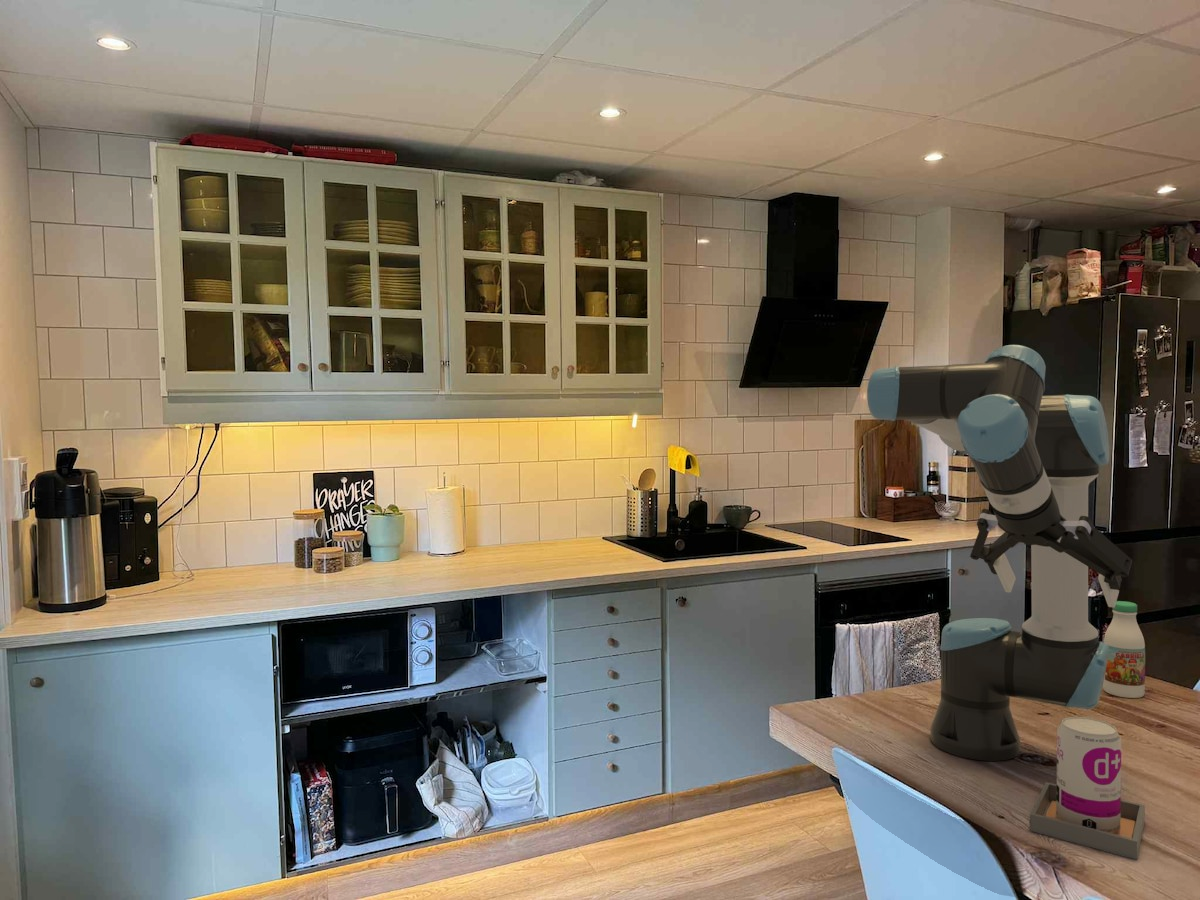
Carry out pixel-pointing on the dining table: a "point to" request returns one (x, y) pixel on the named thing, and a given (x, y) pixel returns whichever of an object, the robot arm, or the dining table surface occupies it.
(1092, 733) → the supplement can
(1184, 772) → the dining table surface
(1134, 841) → the tray
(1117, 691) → the milk bottle
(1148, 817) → the dining table surface
